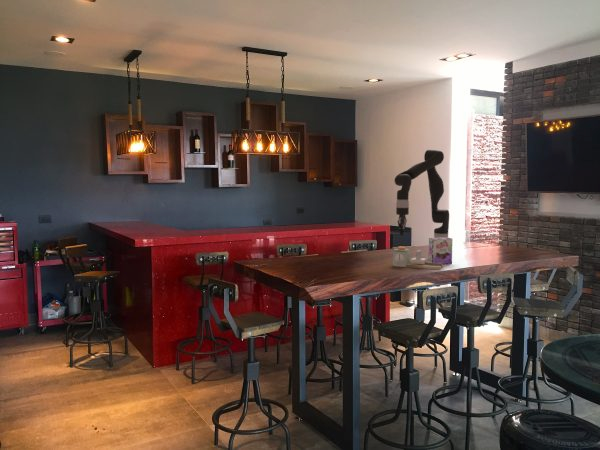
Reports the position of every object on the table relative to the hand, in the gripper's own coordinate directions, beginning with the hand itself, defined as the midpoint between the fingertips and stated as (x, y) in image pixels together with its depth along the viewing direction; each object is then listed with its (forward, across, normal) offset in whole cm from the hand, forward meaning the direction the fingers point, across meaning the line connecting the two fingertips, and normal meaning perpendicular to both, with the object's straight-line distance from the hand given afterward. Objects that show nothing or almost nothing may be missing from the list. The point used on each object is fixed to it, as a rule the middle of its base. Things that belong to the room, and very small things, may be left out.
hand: (401, 234), depth 313 cm
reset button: (+12, 0, 0) cm, 12 cm away
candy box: (+19, +18, -20) cm, 33 cm away
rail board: (+19, 0, -14) cm, 24 cm away
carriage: (+17, 0, -11) cm, 20 cm away
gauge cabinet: (+19, 0, 0) cm, 19 cm away
